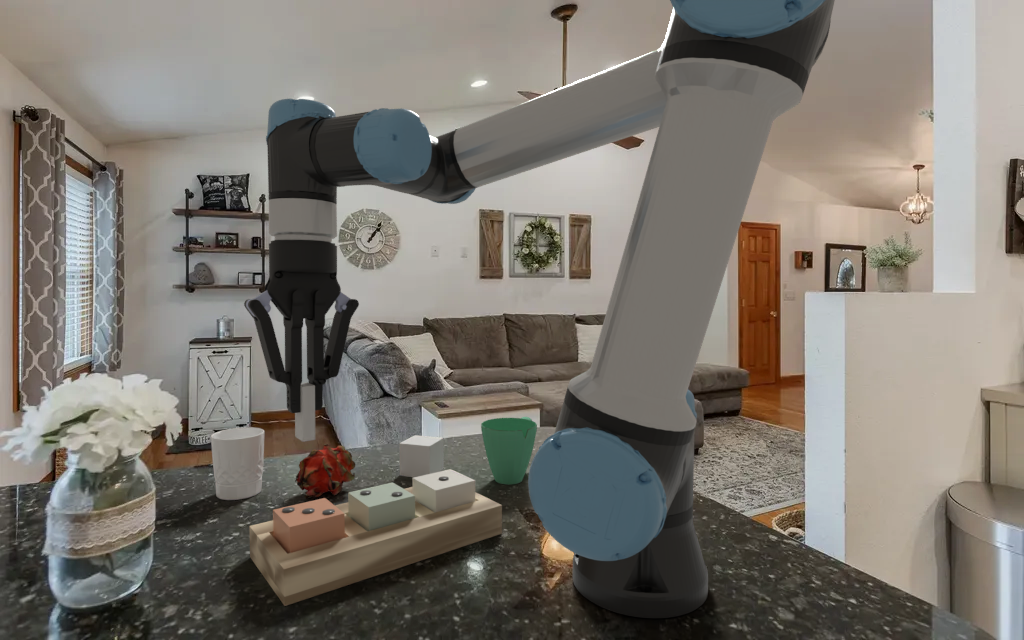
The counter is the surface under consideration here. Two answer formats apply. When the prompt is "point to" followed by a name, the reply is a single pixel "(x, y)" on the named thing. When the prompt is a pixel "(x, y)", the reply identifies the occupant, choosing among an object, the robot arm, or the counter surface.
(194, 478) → the counter surface
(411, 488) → the key panel
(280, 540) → the key three
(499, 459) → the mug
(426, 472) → the white cube
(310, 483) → the dragon fruit
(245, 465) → the white cup
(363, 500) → the key two
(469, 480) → the key one
